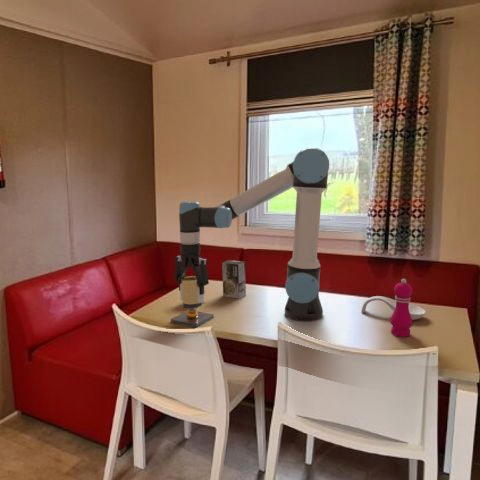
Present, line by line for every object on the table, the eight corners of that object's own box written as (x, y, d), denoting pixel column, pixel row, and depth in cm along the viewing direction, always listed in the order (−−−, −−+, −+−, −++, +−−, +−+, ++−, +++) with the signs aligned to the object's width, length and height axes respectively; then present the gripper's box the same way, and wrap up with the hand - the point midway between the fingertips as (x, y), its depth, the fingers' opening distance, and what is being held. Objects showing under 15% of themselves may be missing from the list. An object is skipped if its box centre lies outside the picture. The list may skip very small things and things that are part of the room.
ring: (204, 304, 157) (204, 300, 157) (194, 309, 151) (193, 305, 151) (190, 301, 160) (190, 297, 160) (179, 306, 155) (179, 302, 154)
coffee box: (246, 295, 187) (246, 261, 184) (239, 299, 181) (238, 264, 179) (230, 292, 192) (229, 259, 189) (222, 296, 186) (221, 262, 183)
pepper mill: (406, 329, 145) (409, 275, 142) (415, 337, 138) (419, 281, 135) (386, 329, 145) (389, 276, 142) (394, 338, 138) (398, 281, 135)
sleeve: (204, 300, 157) (204, 277, 155) (193, 305, 151) (193, 282, 149) (189, 297, 160) (189, 275, 159) (178, 302, 154) (177, 279, 153)
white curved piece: (424, 314, 160) (426, 297, 159) (425, 325, 150) (427, 307, 148) (363, 307, 169) (364, 291, 168) (360, 317, 159) (360, 299, 157)
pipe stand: (213, 317, 159) (213, 290, 157) (196, 327, 149) (195, 299, 147) (189, 312, 165) (188, 286, 163) (170, 322, 155) (169, 294, 153)
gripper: (217, 243, 150) (218, 301, 154) (175, 238, 160) (177, 294, 164) (206, 246, 144) (207, 307, 147) (163, 241, 153) (165, 299, 157)
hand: (191, 300), depth 156 cm, fingers closed on sleeve, 7 cm apart
